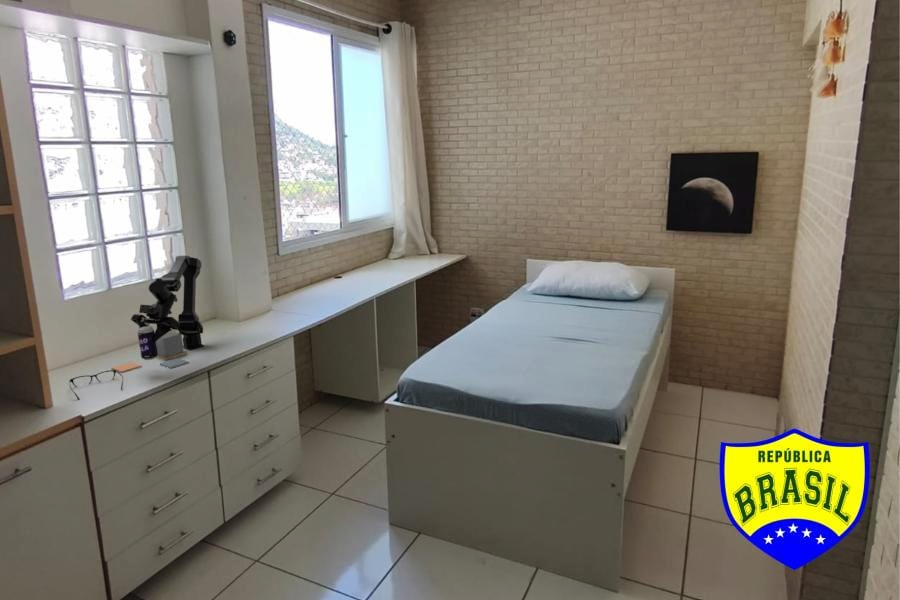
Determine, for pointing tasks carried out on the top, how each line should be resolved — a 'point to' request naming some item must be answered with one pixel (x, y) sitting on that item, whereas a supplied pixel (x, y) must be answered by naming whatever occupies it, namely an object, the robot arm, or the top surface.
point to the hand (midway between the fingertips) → (146, 341)
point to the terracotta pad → (126, 367)
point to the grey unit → (170, 346)
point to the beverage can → (147, 343)
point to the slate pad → (174, 363)
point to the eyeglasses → (91, 379)
